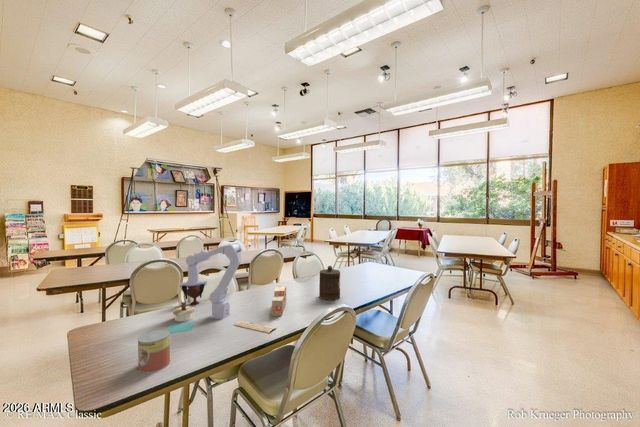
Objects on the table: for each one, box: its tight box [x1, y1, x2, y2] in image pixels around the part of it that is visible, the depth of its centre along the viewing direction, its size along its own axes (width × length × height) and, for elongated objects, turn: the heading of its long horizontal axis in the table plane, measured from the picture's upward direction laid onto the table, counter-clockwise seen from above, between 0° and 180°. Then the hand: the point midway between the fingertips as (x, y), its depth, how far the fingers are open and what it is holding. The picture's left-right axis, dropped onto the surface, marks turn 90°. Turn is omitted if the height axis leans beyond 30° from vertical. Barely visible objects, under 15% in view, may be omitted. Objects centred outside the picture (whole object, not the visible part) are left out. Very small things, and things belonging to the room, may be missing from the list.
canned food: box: [137, 329, 171, 374], centre depth 116 cm, size 11×11×12 cm
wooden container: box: [318, 265, 341, 301], centre depth 203 cm, size 15×15×22 cm
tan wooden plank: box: [233, 320, 277, 334], centre depth 152 cm, size 24×7×2 cm, turn 65°
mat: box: [166, 321, 195, 334], centre depth 150 cm, size 12×12×1 cm
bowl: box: [174, 311, 194, 323], centre depth 162 cm, size 9×9×4 cm
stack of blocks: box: [271, 285, 287, 317], centre depth 178 cm, size 21×6×12 cm, turn 0°
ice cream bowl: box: [187, 285, 205, 306], centre depth 188 cm, size 11×11×15 cm
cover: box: [172, 301, 195, 316], centre depth 162 cm, size 11×11×5 cm
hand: (193, 297), depth 168 cm, fingers open, 7 cm apart
